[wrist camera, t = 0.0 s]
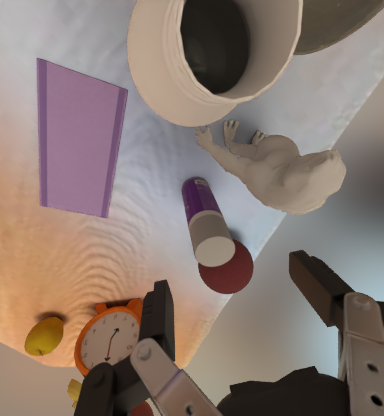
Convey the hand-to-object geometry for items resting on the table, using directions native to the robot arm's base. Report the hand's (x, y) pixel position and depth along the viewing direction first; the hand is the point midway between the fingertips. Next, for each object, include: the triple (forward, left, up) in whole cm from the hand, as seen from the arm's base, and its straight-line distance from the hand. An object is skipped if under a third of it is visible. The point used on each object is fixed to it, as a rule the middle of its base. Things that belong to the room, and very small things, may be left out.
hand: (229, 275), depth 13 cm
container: (+5, +3, -23) cm, 23 cm away
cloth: (+3, -15, -22) cm, 27 cm away
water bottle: (-10, -5, -23) cm, 25 cm away
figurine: (-5, +7, -23) cm, 24 cm away
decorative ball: (+16, +12, -23) cm, 30 cm away
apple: (+45, -18, -23) cm, 53 cm away
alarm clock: (+39, -4, -23) cm, 45 cm away
